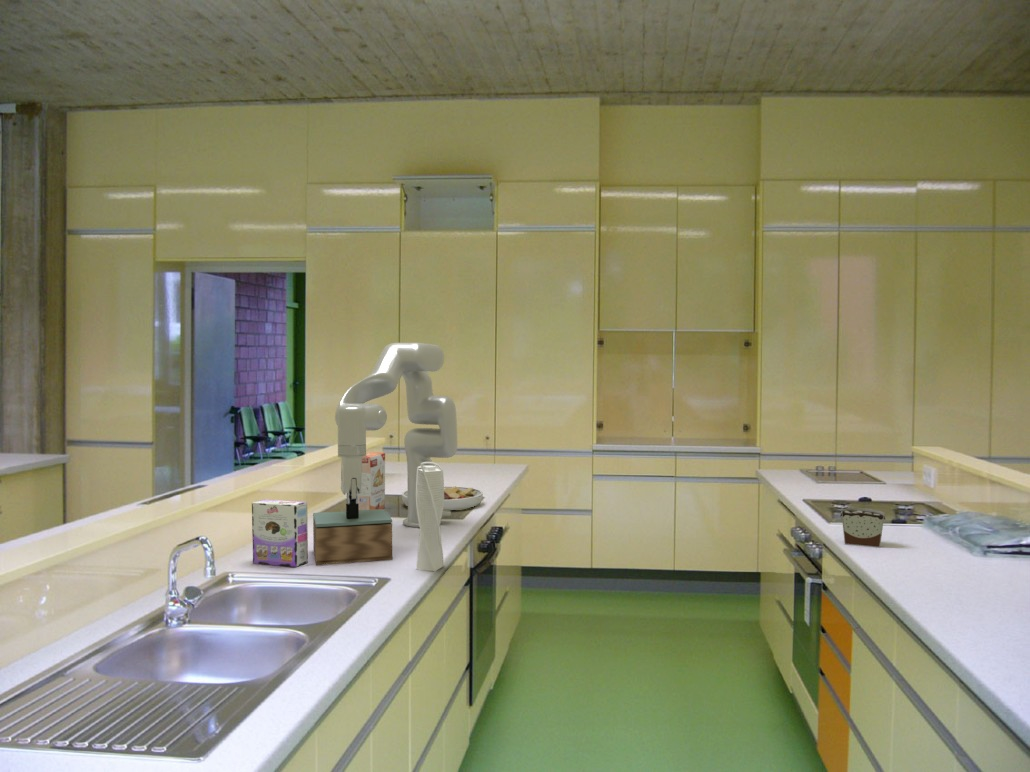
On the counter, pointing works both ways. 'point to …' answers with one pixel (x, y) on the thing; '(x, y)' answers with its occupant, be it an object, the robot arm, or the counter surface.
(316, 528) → the storage box
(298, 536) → the candy box
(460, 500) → the bowl
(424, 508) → the skyscraper
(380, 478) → the cracker box
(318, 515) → the box lid
